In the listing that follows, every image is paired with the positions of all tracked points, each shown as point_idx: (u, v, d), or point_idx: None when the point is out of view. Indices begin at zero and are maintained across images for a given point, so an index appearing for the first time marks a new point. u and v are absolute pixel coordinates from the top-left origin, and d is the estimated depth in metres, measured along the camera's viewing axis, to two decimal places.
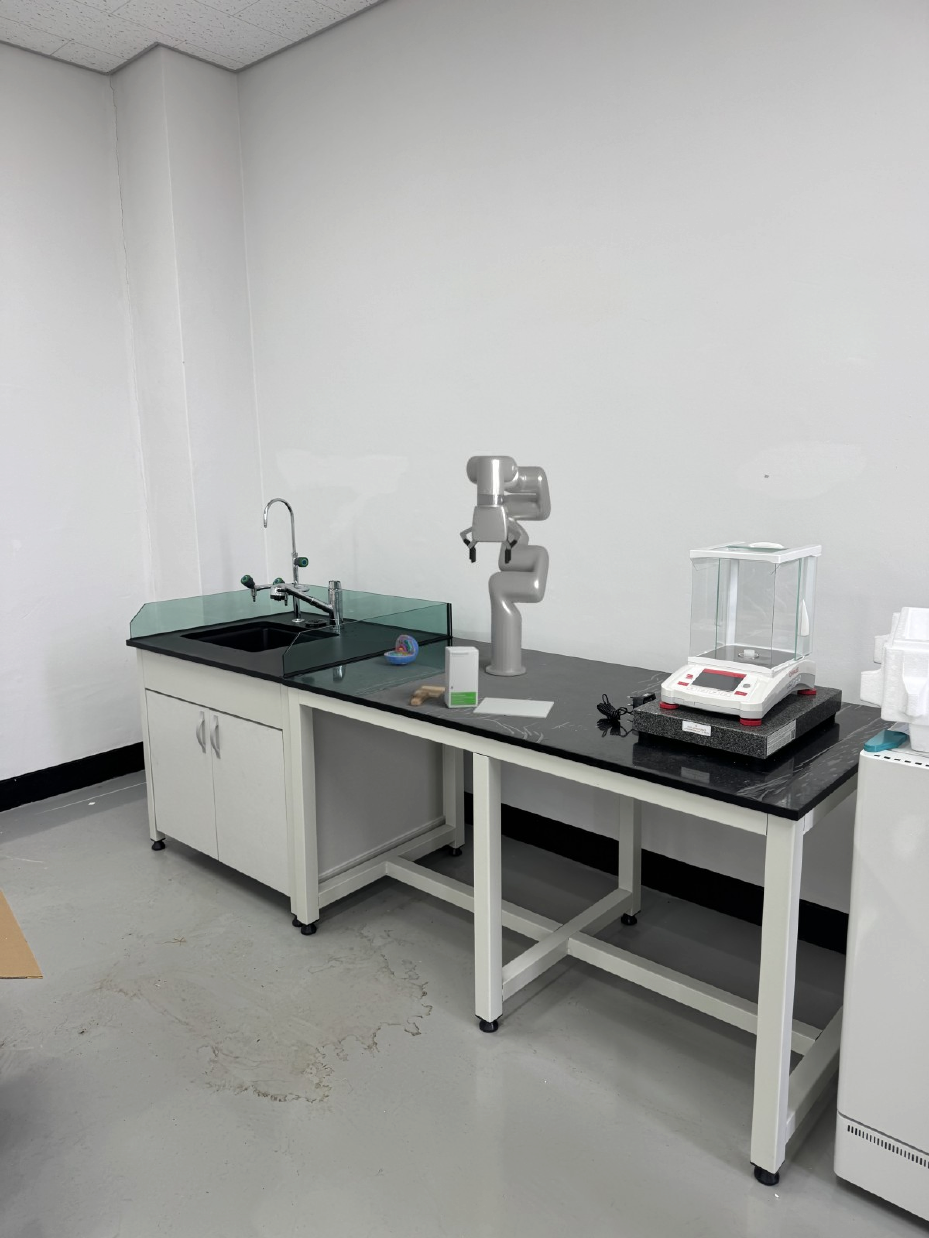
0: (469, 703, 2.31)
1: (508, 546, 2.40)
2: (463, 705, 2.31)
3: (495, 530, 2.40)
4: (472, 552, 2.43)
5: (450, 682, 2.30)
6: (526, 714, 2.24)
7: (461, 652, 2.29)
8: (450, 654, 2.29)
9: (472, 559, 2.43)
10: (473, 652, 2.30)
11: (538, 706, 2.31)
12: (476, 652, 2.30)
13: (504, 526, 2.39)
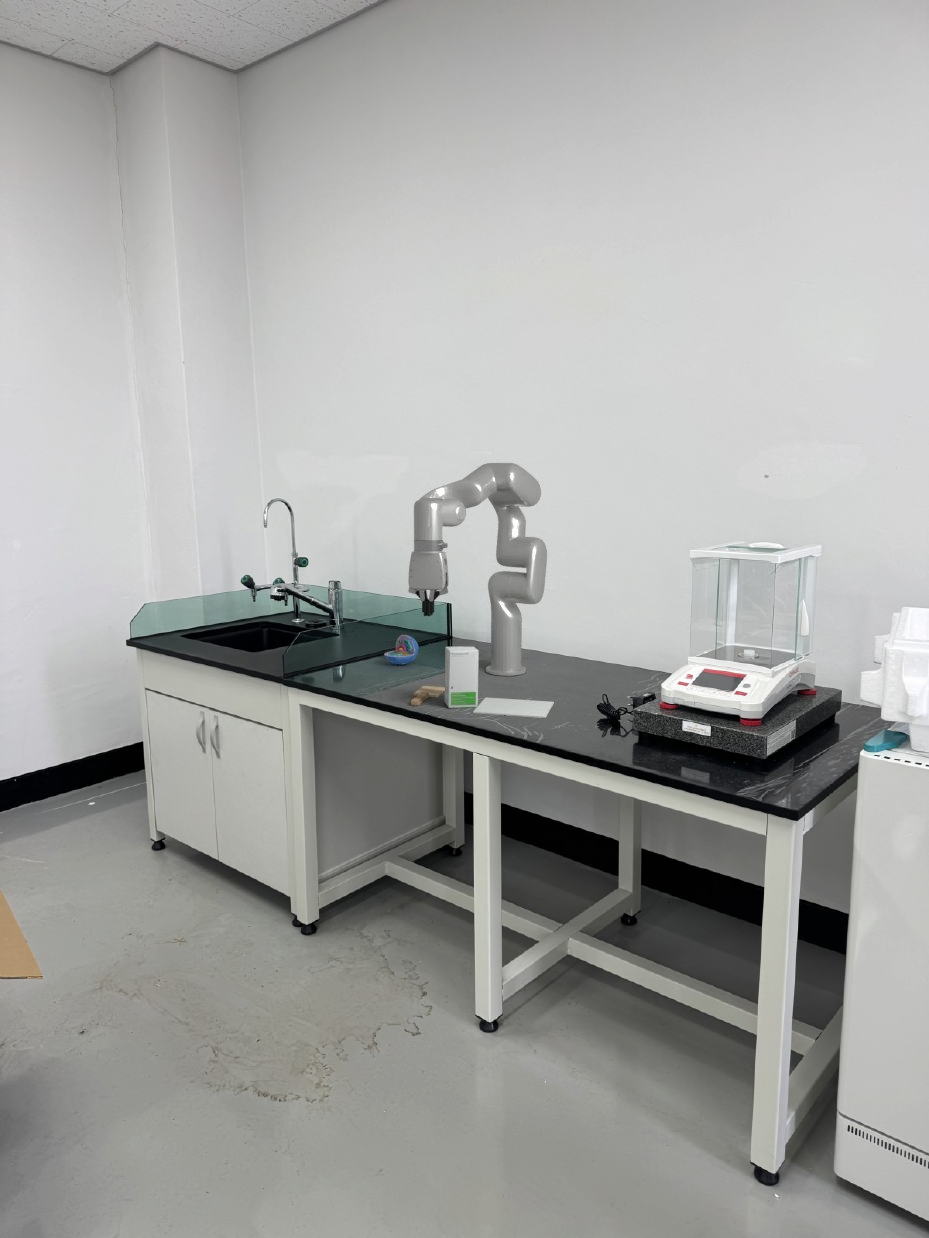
0: (469, 703, 2.31)
1: (431, 598, 2.30)
2: (463, 705, 2.31)
3: (432, 577, 2.28)
4: (425, 605, 2.31)
5: (450, 682, 2.30)
6: (526, 714, 2.24)
7: (461, 652, 2.29)
8: (450, 654, 2.29)
9: (425, 612, 2.31)
10: (473, 652, 2.30)
11: (538, 706, 2.31)
12: (476, 652, 2.30)
13: (442, 573, 2.28)
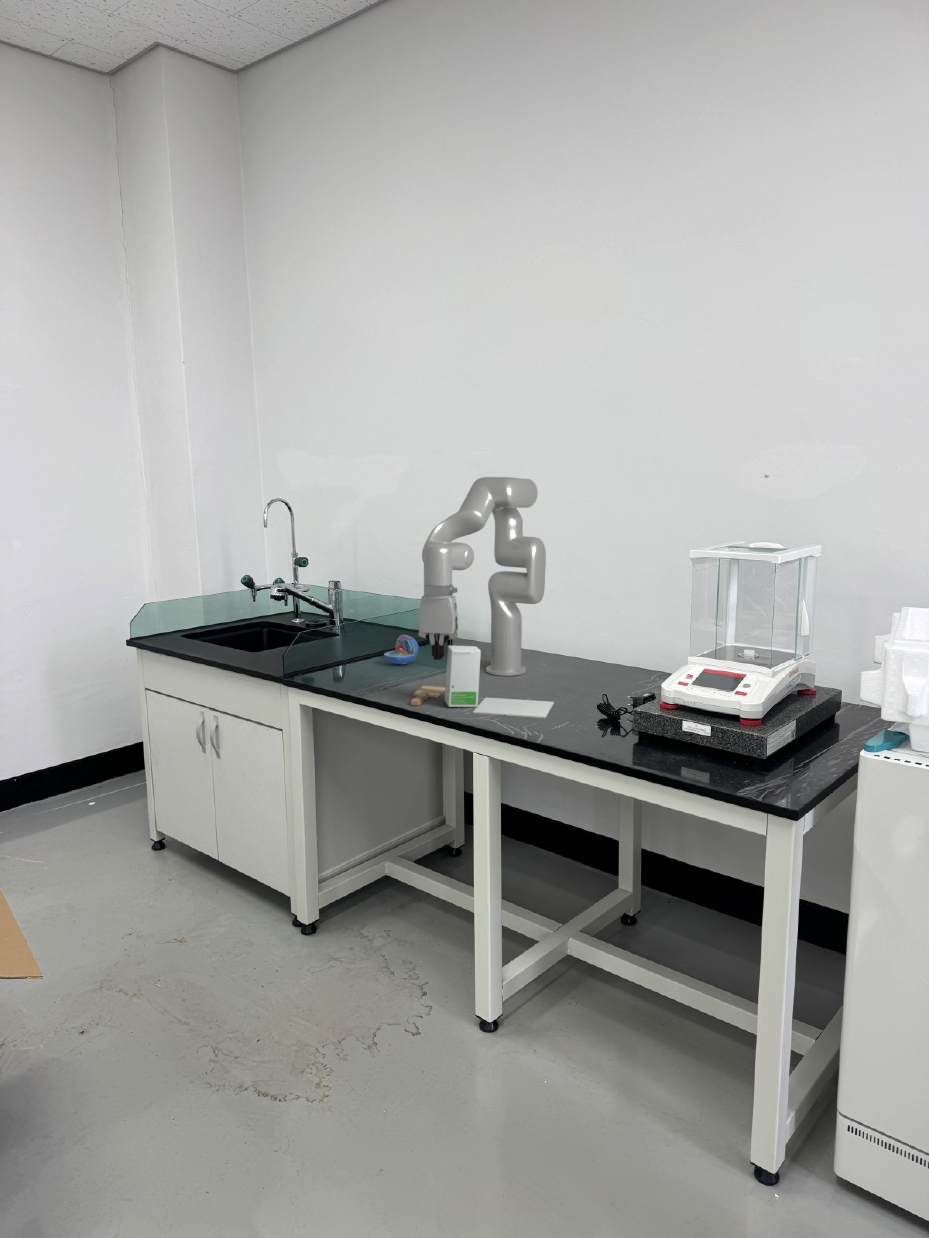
0: (469, 703, 2.31)
1: (441, 642, 2.32)
2: (463, 705, 2.31)
3: (442, 622, 2.29)
4: (435, 649, 2.32)
5: (451, 681, 2.29)
6: (526, 714, 2.24)
7: (463, 652, 2.29)
8: (452, 653, 2.28)
9: (435, 656, 2.32)
10: (476, 652, 2.29)
11: (538, 706, 2.31)
12: (478, 652, 2.30)
13: (451, 618, 2.29)
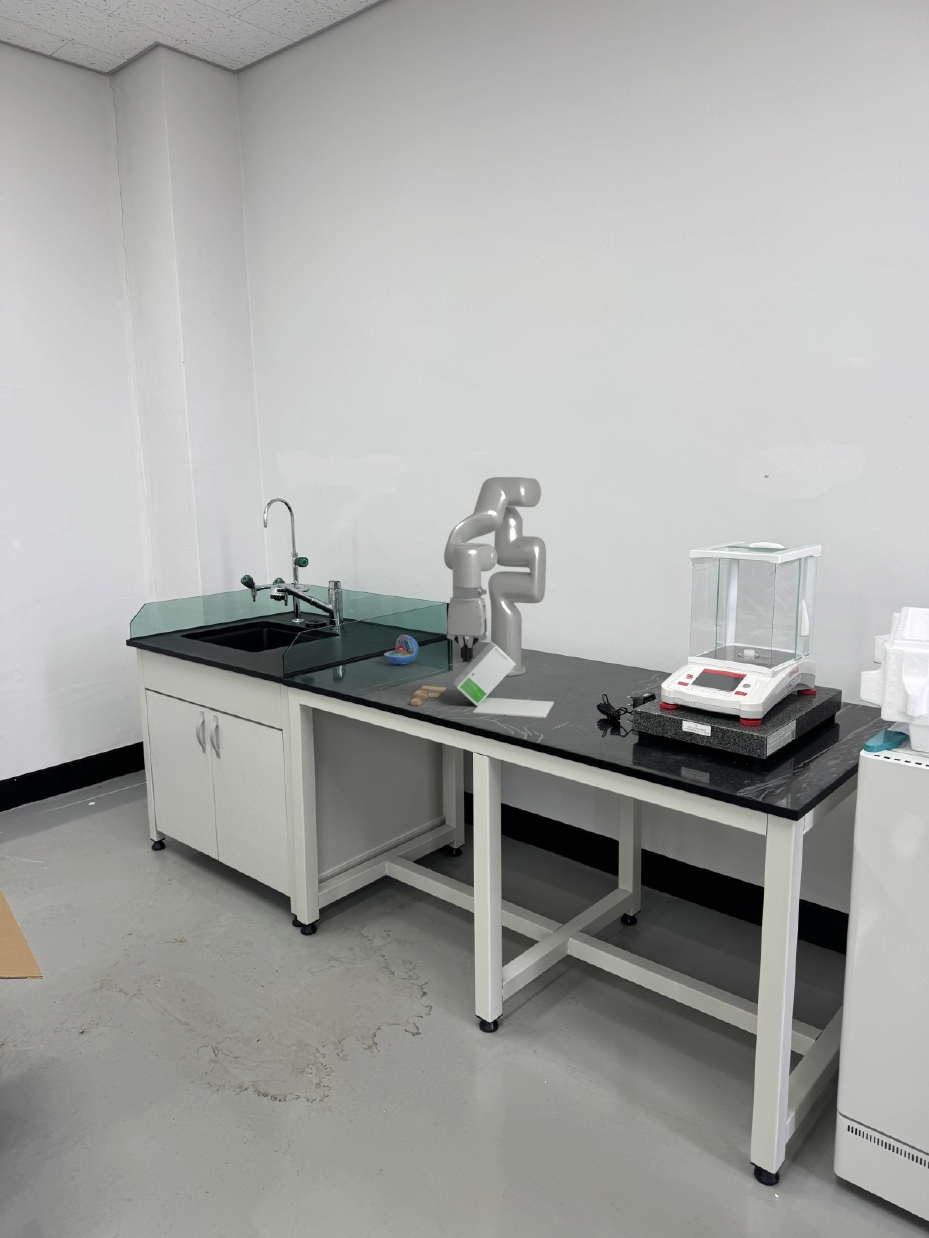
0: (474, 697, 2.32)
1: (470, 644, 2.30)
2: (468, 695, 2.31)
3: (471, 624, 2.28)
4: (464, 651, 2.30)
5: (475, 669, 2.30)
6: (526, 714, 2.24)
7: (503, 654, 2.31)
8: (494, 648, 2.31)
9: (464, 658, 2.31)
10: (511, 662, 2.32)
11: (538, 706, 2.31)
12: (513, 664, 2.32)
13: (481, 620, 2.27)
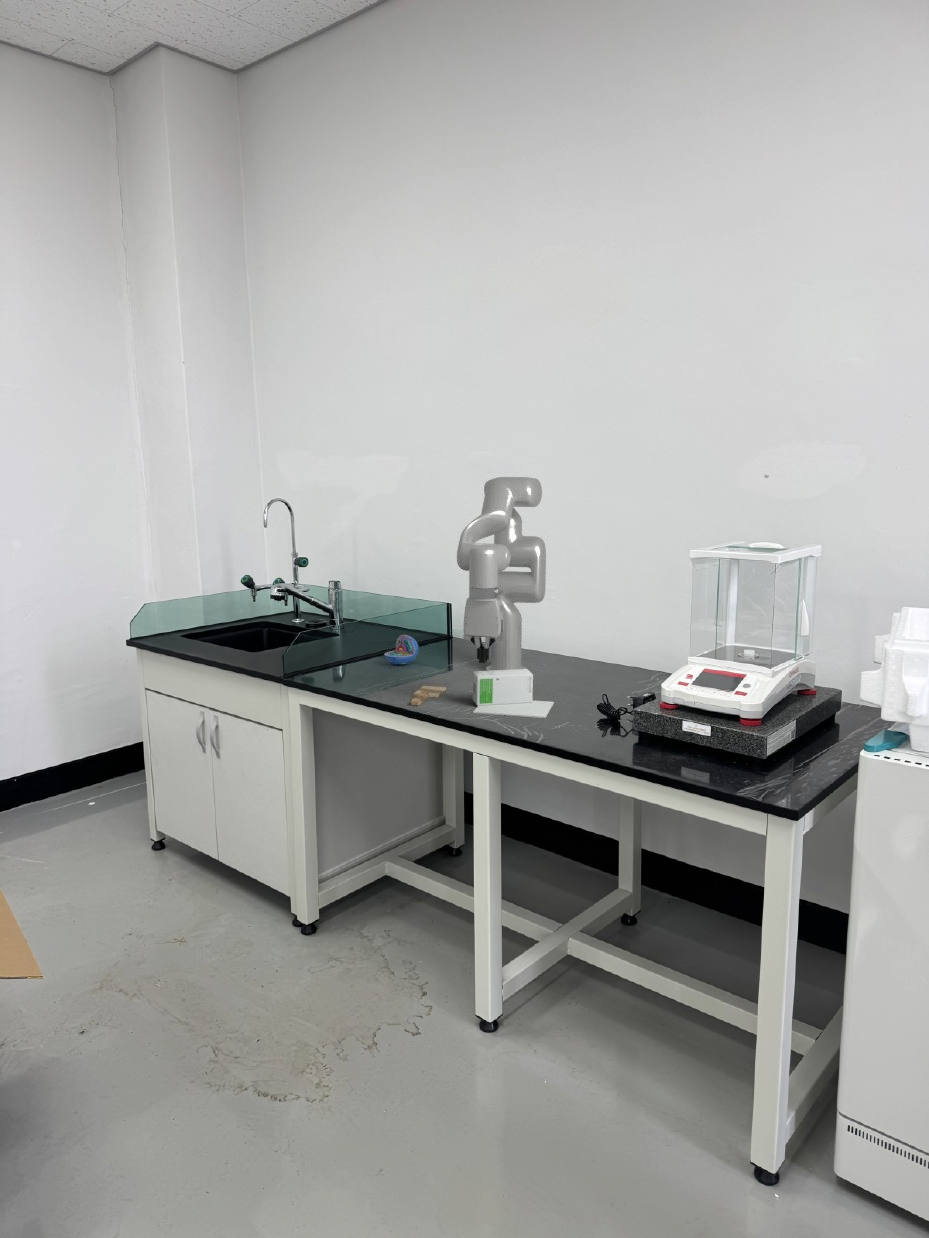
0: (481, 697, 2.31)
1: (486, 645, 2.29)
2: (479, 691, 2.31)
3: (488, 625, 2.27)
4: (480, 652, 2.29)
5: (502, 677, 2.32)
6: (526, 714, 2.24)
7: (531, 686, 2.34)
8: (529, 675, 2.33)
9: (480, 659, 2.30)
10: (531, 698, 2.35)
11: (538, 706, 2.31)
12: (530, 700, 2.35)
13: (498, 621, 2.26)
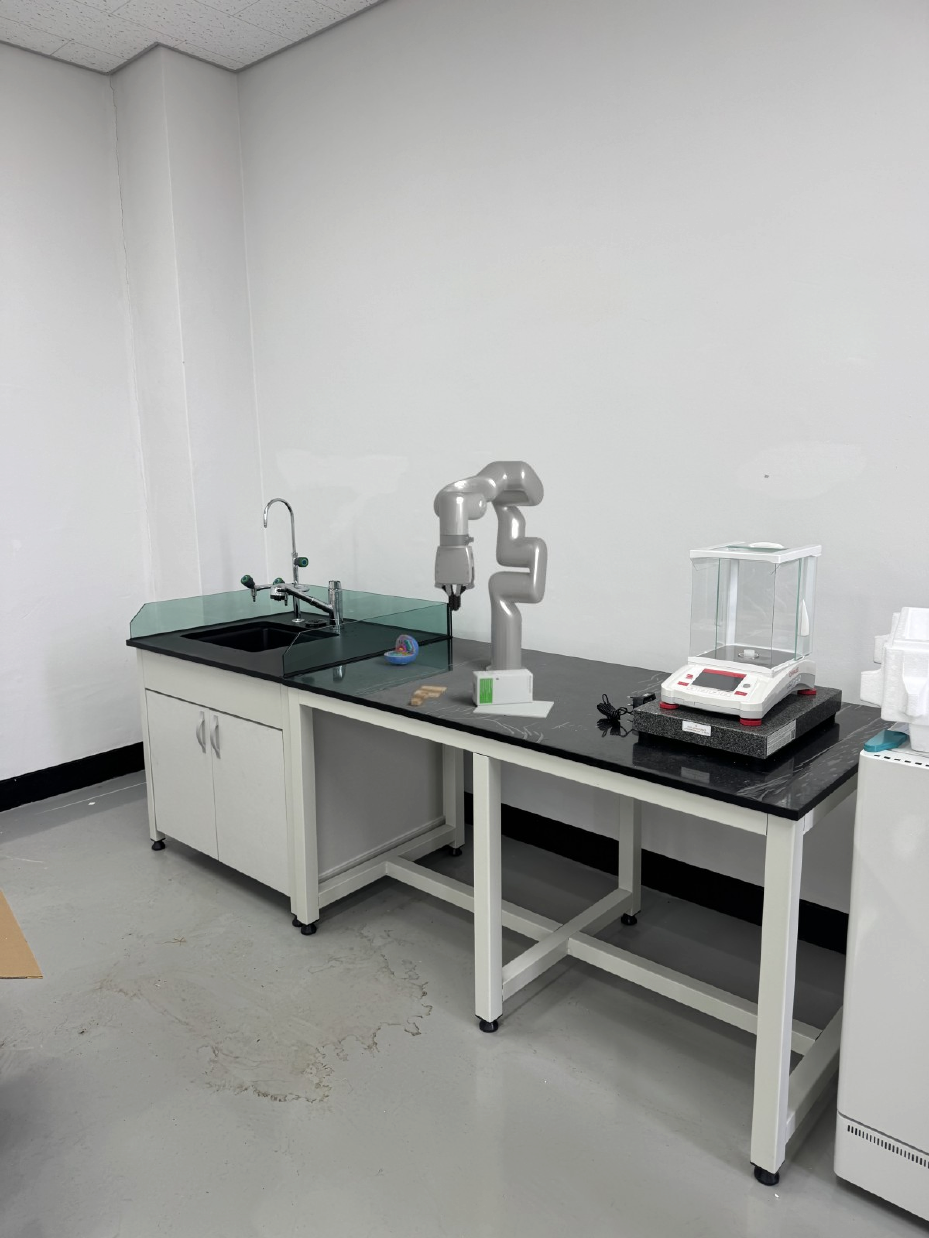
0: (481, 696, 2.32)
1: (458, 593, 2.29)
2: (479, 691, 2.31)
3: (459, 572, 2.26)
4: (451, 600, 2.29)
5: (502, 677, 2.32)
6: (526, 714, 2.24)
7: (531, 685, 2.34)
8: (529, 675, 2.33)
9: (451, 607, 2.30)
10: (531, 697, 2.35)
11: (538, 706, 2.31)
12: (530, 700, 2.35)
13: (468, 568, 2.26)
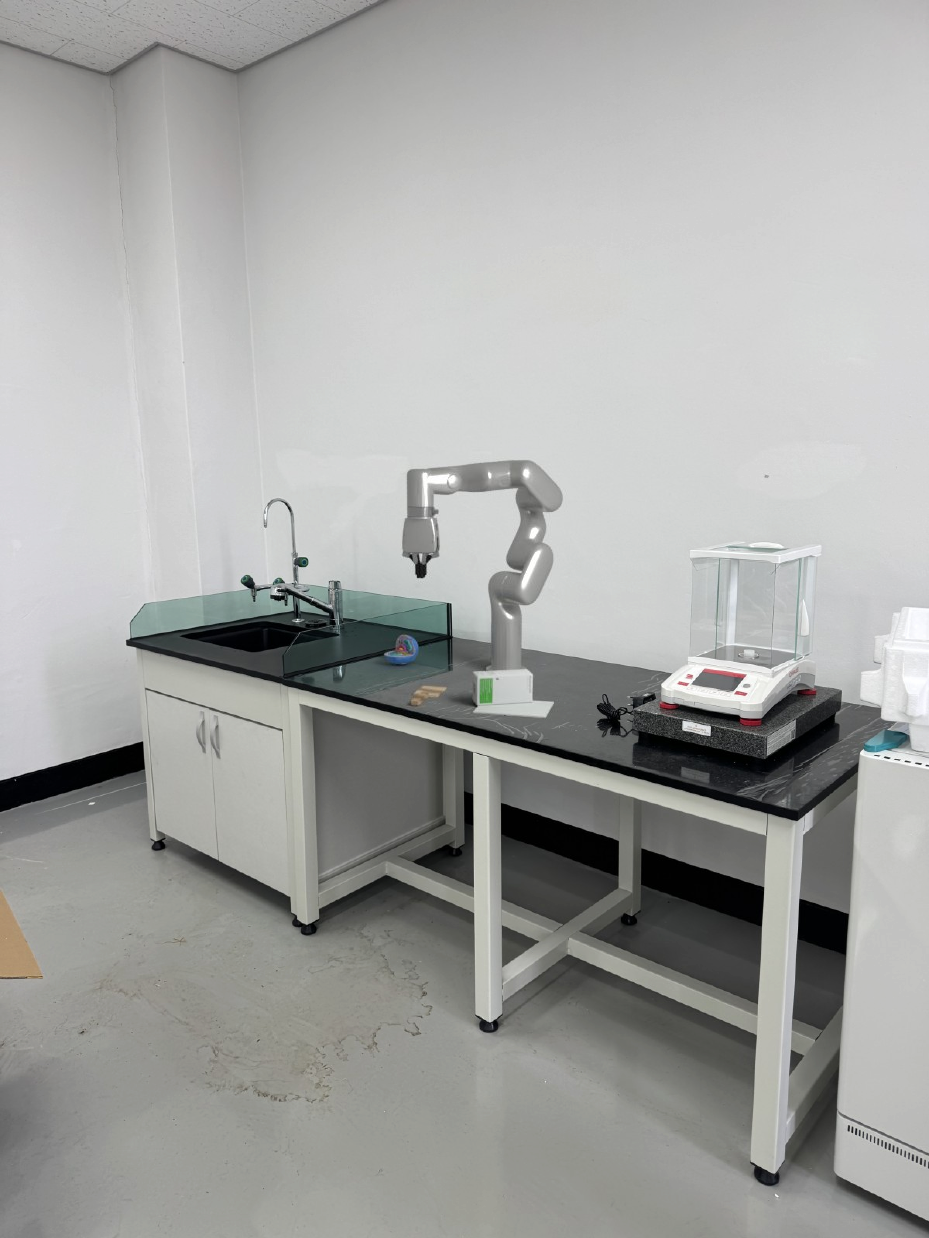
0: (481, 696, 2.32)
1: (423, 561, 2.46)
2: (479, 691, 2.31)
3: (424, 541, 2.44)
4: (418, 568, 2.46)
5: (502, 677, 2.32)
6: (526, 714, 2.24)
7: (531, 685, 2.34)
8: (529, 675, 2.33)
9: (418, 575, 2.47)
10: (531, 697, 2.35)
11: (538, 706, 2.31)
12: (530, 700, 2.35)
13: (433, 538, 2.43)
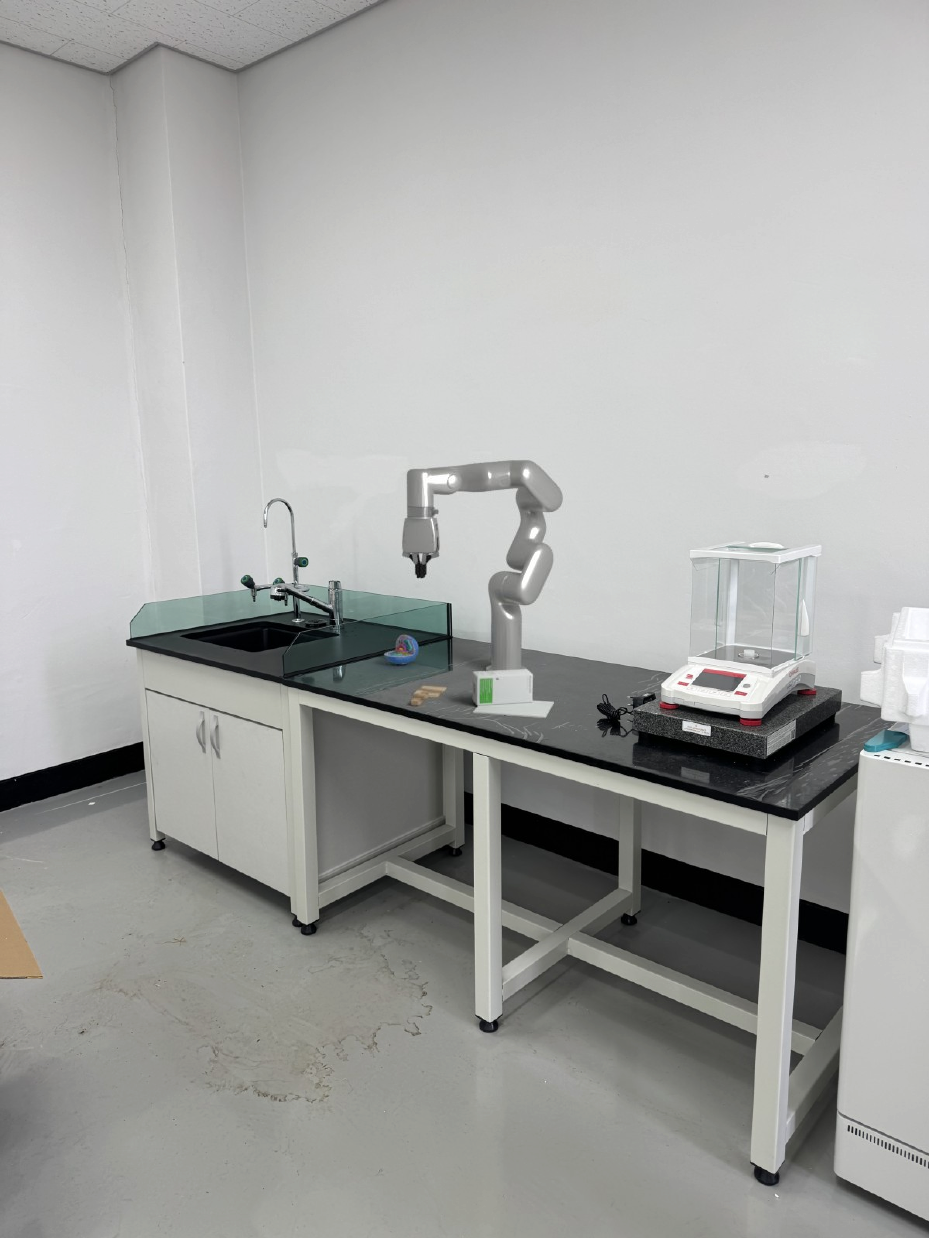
0: (481, 696, 2.32)
1: (423, 561, 2.46)
2: (479, 691, 2.31)
3: (424, 541, 2.44)
4: (417, 568, 2.46)
5: (502, 677, 2.32)
6: (526, 714, 2.24)
7: (531, 685, 2.34)
8: (529, 675, 2.33)
9: (418, 574, 2.47)
10: (531, 697, 2.35)
11: (538, 706, 2.31)
12: (530, 700, 2.35)
13: (433, 537, 2.43)
